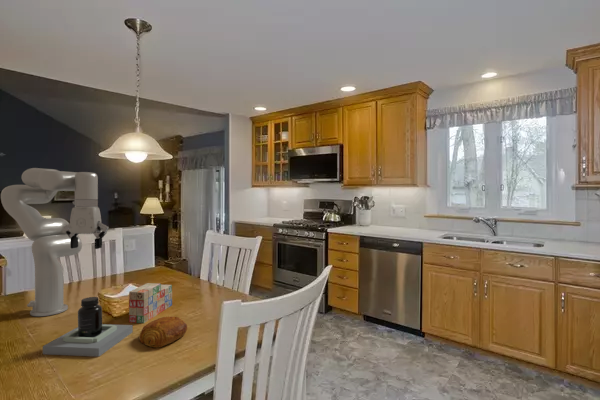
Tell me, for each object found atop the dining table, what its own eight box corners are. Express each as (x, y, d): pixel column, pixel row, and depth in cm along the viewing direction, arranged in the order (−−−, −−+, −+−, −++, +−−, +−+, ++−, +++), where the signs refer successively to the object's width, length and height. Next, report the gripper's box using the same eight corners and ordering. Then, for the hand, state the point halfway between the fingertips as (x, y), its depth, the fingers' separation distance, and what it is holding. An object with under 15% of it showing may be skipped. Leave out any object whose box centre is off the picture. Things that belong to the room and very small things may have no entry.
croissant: (194, 340, 118) (196, 317, 118) (159, 352, 103) (162, 326, 104) (164, 331, 124) (167, 309, 124) (127, 342, 110) (131, 317, 110)
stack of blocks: (159, 304, 149) (159, 277, 148) (172, 305, 148) (172, 278, 148) (128, 322, 127) (128, 291, 127) (143, 323, 126) (143, 291, 126)
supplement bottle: (85, 330, 113) (85, 295, 113) (106, 330, 114) (106, 295, 114) (73, 339, 106) (73, 302, 106) (95, 338, 107) (95, 301, 107)
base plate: (42, 354, 102) (42, 342, 102) (84, 330, 120) (84, 320, 120) (98, 356, 100) (98, 344, 100) (132, 332, 118) (132, 321, 118)
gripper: (57, 204, 125) (57, 249, 125) (101, 204, 124) (101, 250, 124) (72, 203, 133) (72, 246, 133) (113, 204, 131) (113, 247, 132)
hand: (86, 248), depth 129 cm, fingers open, 9 cm apart
